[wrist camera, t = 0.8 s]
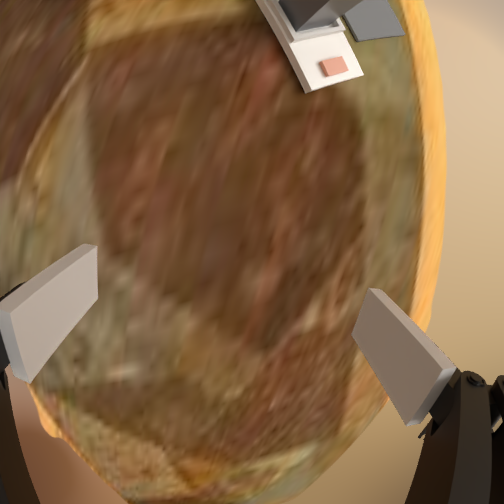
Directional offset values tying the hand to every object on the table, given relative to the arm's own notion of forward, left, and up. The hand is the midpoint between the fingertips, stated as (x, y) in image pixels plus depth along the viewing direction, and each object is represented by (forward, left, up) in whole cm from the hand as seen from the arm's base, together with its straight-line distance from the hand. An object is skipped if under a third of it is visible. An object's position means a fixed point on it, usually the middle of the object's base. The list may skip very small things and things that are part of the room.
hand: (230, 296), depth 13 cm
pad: (-18, +33, -21) cm, 43 cm away
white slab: (-22, +21, -21) cm, 37 cm away
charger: (-18, +21, -19) cm, 33 cm away
